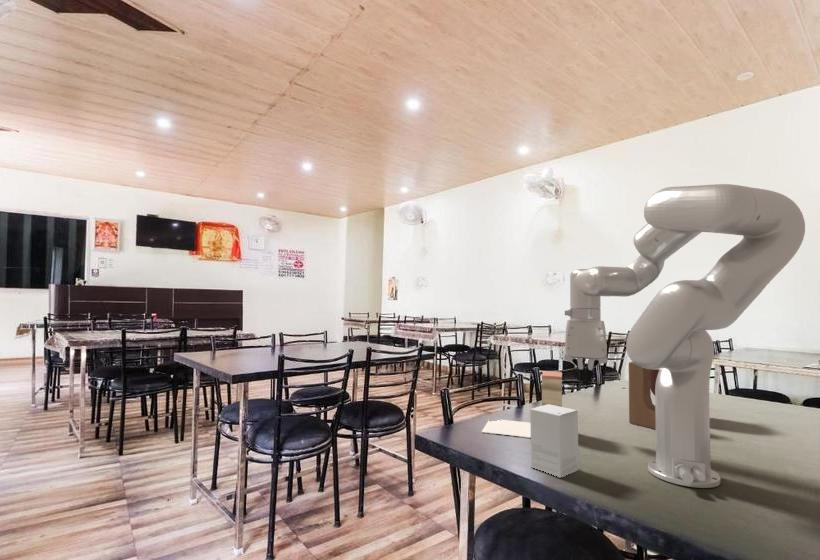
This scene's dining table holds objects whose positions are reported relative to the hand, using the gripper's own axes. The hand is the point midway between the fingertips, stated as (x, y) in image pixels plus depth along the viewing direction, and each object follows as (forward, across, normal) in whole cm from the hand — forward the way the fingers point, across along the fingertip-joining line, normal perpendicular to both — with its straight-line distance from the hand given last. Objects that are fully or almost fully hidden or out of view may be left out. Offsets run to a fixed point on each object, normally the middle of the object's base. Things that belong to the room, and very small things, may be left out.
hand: (585, 384), depth 113 cm
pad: (+14, -19, 0) cm, 24 cm away
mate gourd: (+14, +28, +32) cm, 44 cm away
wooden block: (+14, +18, +18) cm, 29 cm away
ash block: (+14, -8, 0) cm, 16 cm away
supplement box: (+14, -7, -26) cm, 31 cm away
